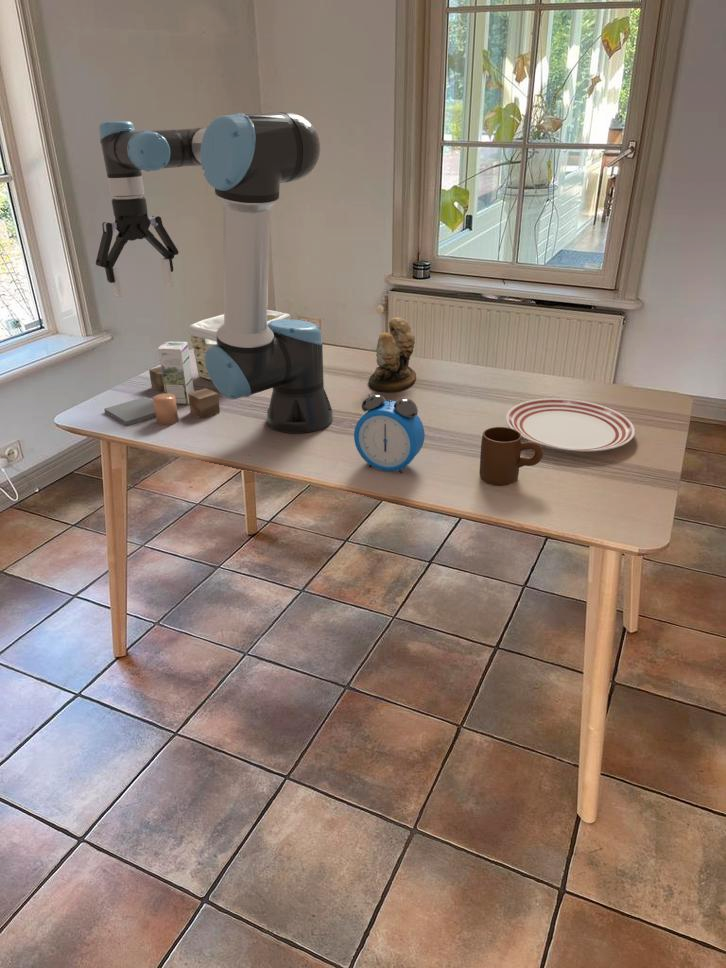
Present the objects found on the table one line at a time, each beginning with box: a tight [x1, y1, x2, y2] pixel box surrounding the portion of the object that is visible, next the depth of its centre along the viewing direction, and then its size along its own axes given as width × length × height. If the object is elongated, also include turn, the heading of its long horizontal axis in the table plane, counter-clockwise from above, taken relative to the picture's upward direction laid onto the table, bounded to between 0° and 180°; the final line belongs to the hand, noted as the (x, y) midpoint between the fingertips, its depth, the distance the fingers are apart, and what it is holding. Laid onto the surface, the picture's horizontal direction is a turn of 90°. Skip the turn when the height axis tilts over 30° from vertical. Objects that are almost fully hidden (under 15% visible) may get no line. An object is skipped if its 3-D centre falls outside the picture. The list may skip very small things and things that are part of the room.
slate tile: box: [104, 396, 156, 426], centre depth 174 cm, size 11×11×1 cm
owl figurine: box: [368, 316, 417, 393], centre depth 187 cm, size 18×12×17 cm, turn 162°
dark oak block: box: [148, 366, 165, 393], centre depth 188 cm, size 5×5×5 cm
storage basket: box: [188, 309, 291, 381], centre depth 196 cm, size 24×16×15 cm
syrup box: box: [157, 341, 195, 405], centre depth 178 cm, size 6×6×14 cm
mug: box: [479, 426, 544, 487], centre depth 139 cm, size 12×8×9 cm, turn 60°
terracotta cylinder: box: [152, 392, 180, 427], centre depth 168 cm, size 5×5×6 cm
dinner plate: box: [505, 397, 636, 453], centre depth 160 cm, size 28×27×3 cm
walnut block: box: [188, 387, 221, 419], centre depth 173 cm, size 5×5×5 cm
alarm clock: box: [353, 393, 426, 474], centre depth 144 cm, size 13×6×15 cm, turn 67°
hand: (144, 291), depth 175 cm, fingers open, 13 cm apart
